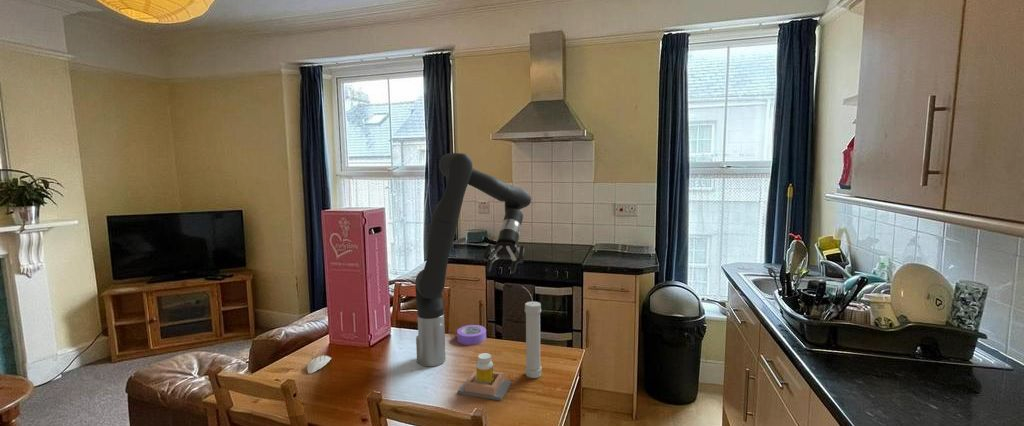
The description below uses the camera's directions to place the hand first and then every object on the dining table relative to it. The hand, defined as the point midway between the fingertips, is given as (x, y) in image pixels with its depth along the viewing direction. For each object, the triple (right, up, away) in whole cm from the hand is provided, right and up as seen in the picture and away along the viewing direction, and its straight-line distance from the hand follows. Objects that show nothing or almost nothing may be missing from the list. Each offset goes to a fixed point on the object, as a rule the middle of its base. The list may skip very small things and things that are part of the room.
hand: (500, 271), depth 142 cm
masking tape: (-12, -31, +23) cm, 41 cm away
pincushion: (-64, -34, +2) cm, 72 cm away
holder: (-4, -34, -15) cm, 38 cm away
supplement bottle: (-4, -34, -15) cm, 37 cm away
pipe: (+11, -34, -7) cm, 36 cm away
